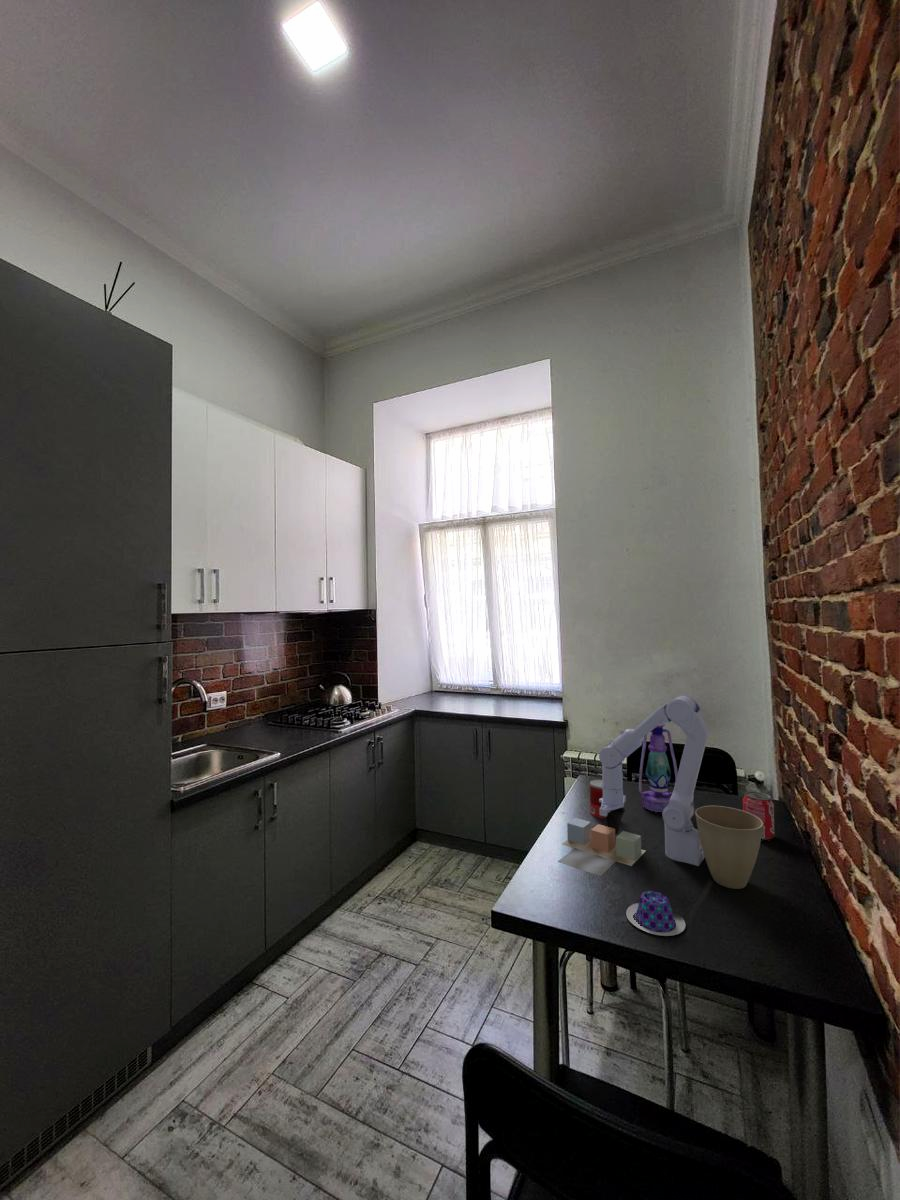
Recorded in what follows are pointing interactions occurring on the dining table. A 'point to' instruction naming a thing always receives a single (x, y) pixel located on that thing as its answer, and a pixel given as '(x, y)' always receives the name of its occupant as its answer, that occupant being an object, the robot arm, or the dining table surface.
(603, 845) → the terracotta block
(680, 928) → the patterned fedora hat
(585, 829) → the blue block
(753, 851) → the plant pot
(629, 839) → the sage block
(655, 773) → the lantern
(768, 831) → the beverage can
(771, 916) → the dining table surface
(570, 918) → the dining table surface
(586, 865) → the board
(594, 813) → the canned food
